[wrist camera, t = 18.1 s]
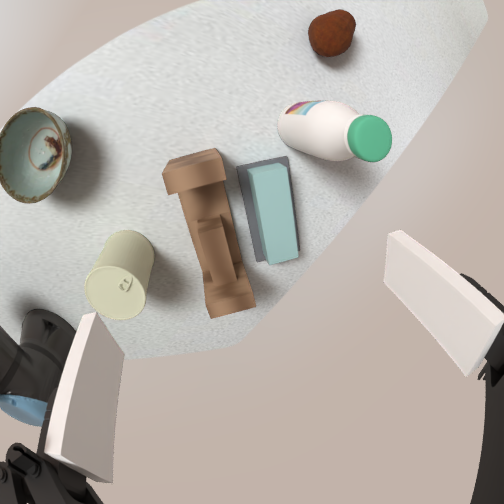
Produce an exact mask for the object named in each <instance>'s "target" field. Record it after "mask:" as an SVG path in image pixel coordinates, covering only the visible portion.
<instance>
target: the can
mask: <svg viewBox="0 0 504 504" xmlns="http://www.w3.org/2000/svg"><path fill="white" fill-rule="evenodd" d="M154 259H155V255H154V250H153V247H152V245H151V244H150V242H149V241H148V240H147V239H146V238H145V237H144V236H143V235H141V234H139V233H137V232H135V231H130V230H123V231H119V232H116V233H114V234H113V235H111V236H110V237H109V238H108V240H107V241H106V243H105V246H104V249H103V250H102V252H101V254H100V256H99V258H98V259H97V261H96V263H95V265H94V266H93V268H92V270H91V272H90V273H89V275H88V276H87V278H86V281H85V286H84V289H85V295H86V298H87V300H88V302H89V303H90V305H91V306H92V307H93V308H94V309H95V310H96V311H97V312H98V313H100V314H102V315H103V316H105V317H108V318H111V319H115V320H127V319H131V318H133V317H135V316H137V315H138V314H139V313H140V312H141V311H142V310H143V308H144V306H145V303H146V294H147V288H148V283H149V278H150V273H151V269H152V266H153V264H154Z"/></svg>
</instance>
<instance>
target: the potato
mask: <svg viewBox="0 0 504 504" xmlns="http://www.w3.org/2000/svg"><path fill="white" fill-rule="evenodd" d="M355 27H356V22H355V19H354V17H353V16H352V15H351V14H350V13H349V12H347V11H344V10H340V9H339V10H335V11H331V12H328V13H326V14H323V15H319V16H318V17H316V18H315V19H314V20H313V21H312V22H311V24H310V26H309V30H308V35H309V40H310V44H311V46H312V48H313V50H314V51H315V52H317V53H318V54H319V55H321V56H325V57H333V56H337V55H340V54H342V53H344V52H345V51H346V50H347V49H348V48H349V47H350V45H351V42H352V38H353V34H354V31H355Z"/></svg>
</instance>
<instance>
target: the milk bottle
mask: <svg viewBox="0 0 504 504" xmlns="http://www.w3.org/2000/svg"><path fill="white" fill-rule="evenodd" d="M277 129H278V133H279V136H280V137H281V139H282V140H283V142H284V143H285V144H286V145H288V146H289V147H291V148H294V149H296V150H299V151H301V152H304V153H307V154H310V155H312V156H315V157H318V158H321V159H324V160H328V161H344V160H348V159H350V158H352V157H356V158H359V159H362V160H364V161H368V162H377V161H380V160H382V159H383V158H385V157H386V155H387V154H388V153H389V151H390V148H391V145H392V134H391V131H390V128H389V126H388V125H387V123H386V122H385V121H384V120H382V119H381V118H379V117H377V116H373V115H363V114H362V115H360V114H359V113H358V112H357V111H356V110H354V109H353V108H352V107H350V106H348V105H346V104H344V103H341V102H337V101H307V102H297V103H293V104H290V105H288V106H287V107H286V108H284V109H283V111H282V112H281V113H280V115H279V118H278V122H277Z"/></svg>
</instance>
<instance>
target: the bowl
mask: <svg viewBox="0 0 504 504" xmlns="http://www.w3.org/2000/svg"><path fill="white" fill-rule="evenodd" d="M71 153H72V143H71V137H70V134H69V131H68V128H67V126H66V125H65V123H64V122H63V120H62V119H61V118H60V117H59V116H57V115H56V114H54V113H52V112H49V111H46V110H43V109H41V108H37V107H31V108H26V109H23V110H20V111H19V112H17V113H16V114H15V115H13V116H12V117H11V118H10V119H9V121H8V122H7V123H6V125H5V126H4V128H3V129H2V131H1V133H0V183H1V185H2V187H3V188H4V190H5V191H6V192H7V193H8V194H9V195H10V196H11V197H12V198H14V199H15V200H17V201H19V202H22V203H36V202H39V201H41V200H43V199H45V198H46V197H47V196H49V195H50V194H51V193H52V192H53V191H54V189H55V188H56V186H57V185H58V184H59V183H60V181H61V180H62V178H63V177H64V175H65V173H66V171H67V169H68V167H69V163H70V159H71Z"/></svg>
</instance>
